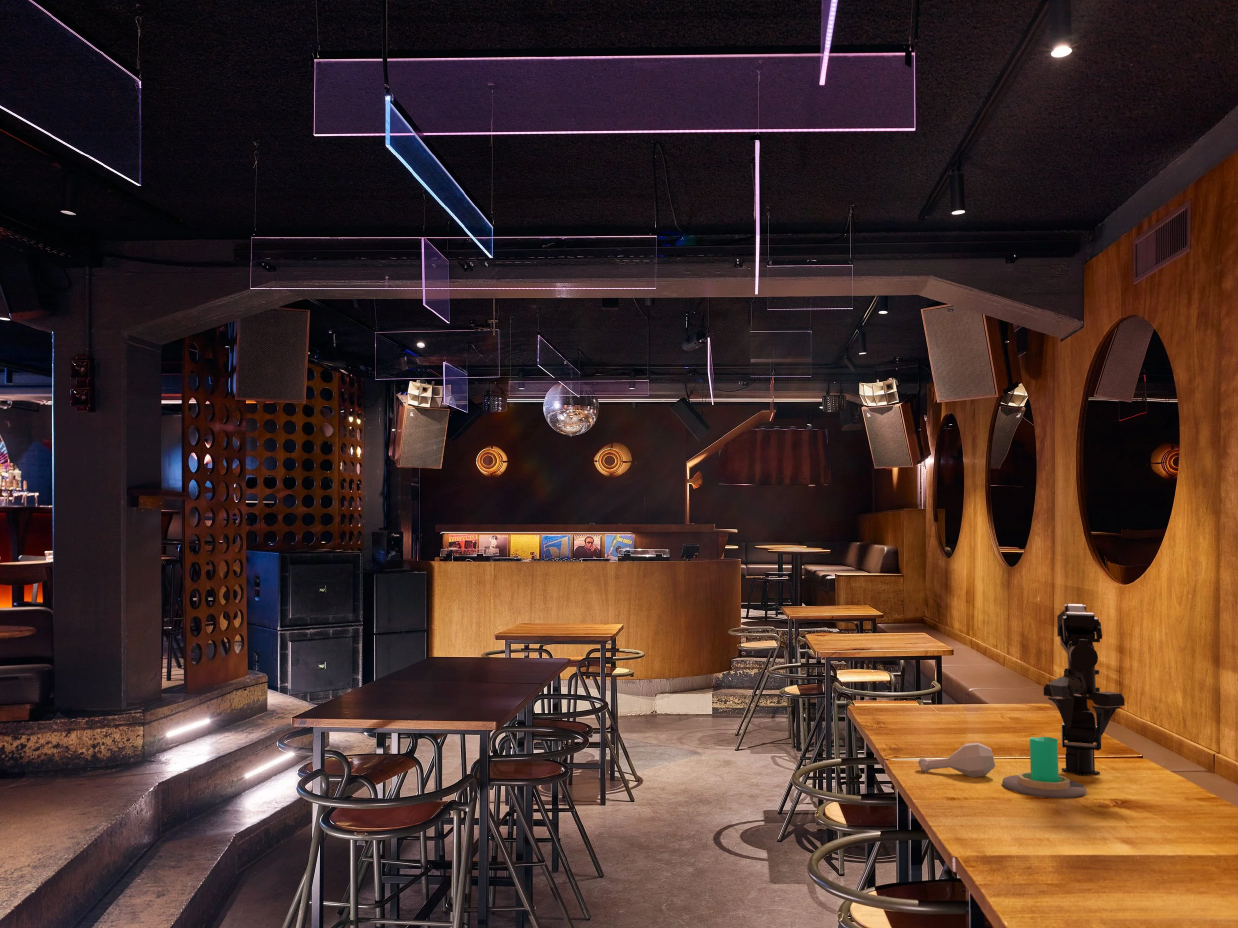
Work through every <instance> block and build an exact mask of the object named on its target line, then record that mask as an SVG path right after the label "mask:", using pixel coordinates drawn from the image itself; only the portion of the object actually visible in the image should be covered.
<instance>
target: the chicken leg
mask: <svg viewBox="0 0 1238 928" xmlns="http://www.w3.org/2000/svg"><path fill="white" fill-rule="evenodd" d="M917 763H918V764H917V765H918V766H919V768H920V770H921V771H922V772H923V773H928V772H930V770H939V769H948V768H949V769H950V768H951V769H953V770H954V771H957V772H959V773H961V774H963V775H965V776H968V777H970V778H979V777H986V776H987V775H988V774H989V773H990V772H991V771H993V769H995V767H996V763H995V758H994V754H993V751H992V748H990V747H989V746H987V745H985V744H982V743H981V742H971V743H965V744H963V745H962V746H960V748H958V749H957V750H956V751H955V752H953V753H952V754H951V755H950V756H949V757H945V758H944V757H943V758H936V759H930V760H929V759H927V758H925V757H921V758H919V759H918V761H917Z"/></svg>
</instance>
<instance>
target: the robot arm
mask: <svg viewBox="0 0 1238 928" xmlns="http://www.w3.org/2000/svg"><path fill="white" fill-rule="evenodd" d="M1099 619H1100V618H1098V617H1097V616H1096V614H1095V613H1094V612H1088V611H1087V606H1086V605H1085V604H1083V603H1066V604H1064V609H1063V611H1061V612H1060V613H1059V614H1057V617H1056V635H1057V636H1056V637H1059V640H1060V642H1059V643H1060V646H1061V647H1062V649H1063V650H1064V652H1065V653H1066V655H1067V656H1066V657H1067V668H1064V670H1063V676H1060V677H1058V678H1055V679H1054V680H1052V681H1050V682H1049V683H1046V684H1045V685H1044V686H1043V696H1046V697H1047V700H1049V701H1051V702H1052V703H1054V705H1055V706H1056V708H1057V710H1058V712H1059V714H1060V716H1061V719H1062V722H1061V733H1060V738H1061V739H1060V740H1061V742H1060V743H1061V748H1064V749H1065V758H1064V759H1065V767H1063V768H1061V771H1063V772H1067V773H1070V774H1074V775H1079V776H1082V777H1083V776H1091V775H1100V774H1101V771H1098V770H1096V769H1095V767H1096V766H1095V764H1096V763H1095V760H1096V759H1095V751H1100V750H1102V736H1103V735H1104V733H1105V731H1106V728H1107V727H1108V724H1109V723H1110V720H1111V719H1112V717H1113V715H1114V714H1115V712H1117V710H1121V709H1120V708H1121V707H1123V706H1124V707H1125V704H1126V703H1125V696H1124V695H1123V694H1122V693H1121V692H1114V691H1101V690H1100V689H1101V688H1100V687H1098V686H1096V683H1097V682H1096V675H1097V676H1098V675H1100V670H1099V669H1096V665H1097V663H1098V661H1099V655H1098V653H1097V651H1096V649H1095V645H1094V643H1101V640H1103V631H1102V624H1101V623H1102V622H1101V621H1100V620H1099ZM1088 700H1089V701H1092V702H1093V704H1094V705H1091V707H1092V709H1093V710H1094V712H1095V715H1096V716H1095V715H1094V713H1093V711H1091V710H1090V709H1089V707H1088Z"/></svg>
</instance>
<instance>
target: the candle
mask: <svg viewBox="0 0 1238 928" xmlns="http://www.w3.org/2000/svg"><path fill="white" fill-rule="evenodd" d="M1044 733H1045V732H1044V731H1043V732H1042V736H1040V737H1035V736H1034V737H1033V736H1031V737H1030V738H1029V757H1030V759H1029V760H1030V762H1029V763H1030V764H1029V765H1030V772H1031V780H1035V781H1041V782H1059V774H1060V773H1059V751H1058V750H1059V749H1058V744H1059V743H1058V738H1054V737H1052V736H1051V737H1050V736H1044V735H1045V734H1044Z"/></svg>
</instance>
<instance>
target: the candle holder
mask: <svg viewBox="0 0 1238 928" xmlns="http://www.w3.org/2000/svg"><path fill="white" fill-rule="evenodd" d="M1001 782H1002V786H1003V787H1004V788H1005V789H1006V790H1009V791H1011V792H1015V793H1018V794H1022V795H1027V796H1032V797H1037V798H1038V797H1039V798H1048V799H1050V798H1051V799H1075V798H1081V797H1084V796H1086V795H1087V786H1085V785H1084V784H1081V783H1080V782H1077V781H1073V780H1070V779H1069V778H1067V777H1066V776H1064V775H1059V782H1041V781H1035V780H1031V771H1027V772H1020V773H1019V774H1015V775H1010V776H1005V777H1003V778H1002V781H1001Z"/></svg>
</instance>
